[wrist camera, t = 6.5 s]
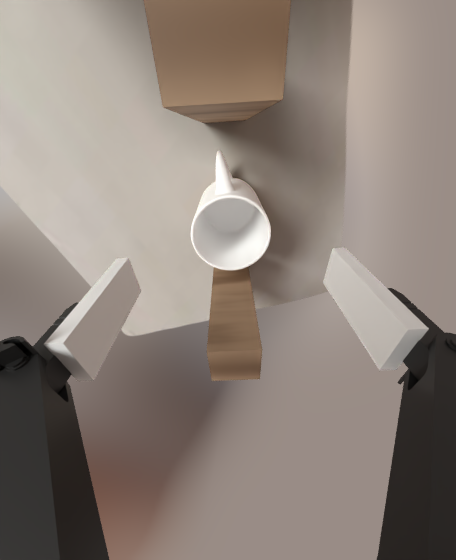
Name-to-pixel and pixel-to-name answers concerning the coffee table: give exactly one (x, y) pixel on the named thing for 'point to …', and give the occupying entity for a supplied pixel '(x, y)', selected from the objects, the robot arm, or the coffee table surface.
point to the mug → (230, 222)
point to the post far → (233, 328)
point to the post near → (219, 55)
